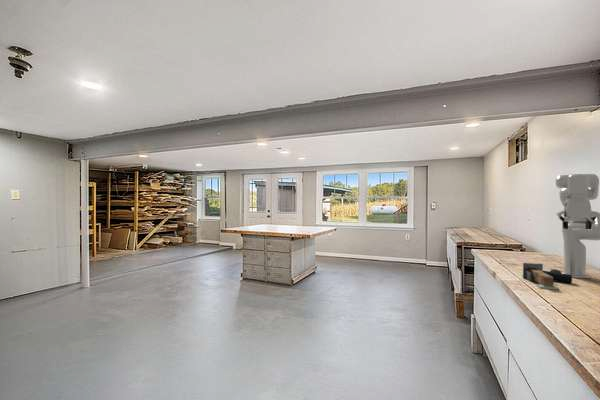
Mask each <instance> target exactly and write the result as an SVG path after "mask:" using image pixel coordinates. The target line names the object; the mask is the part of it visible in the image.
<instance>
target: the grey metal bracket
mask: <svg viewBox="0 0 600 400" xmlns="http://www.w3.org/2000/svg"><path fill="white" fill-rule="evenodd" d="M543 267H544V266H543V263H536V262H535V263H534V262H530V263H529V262H522V279H525V280H527V281H528V282H530V283H537V282H536V281H535V280H533V279H532V273H531V272H530V269H537V270H540V271H542V272H543V271H544V269H543Z"/></svg>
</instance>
